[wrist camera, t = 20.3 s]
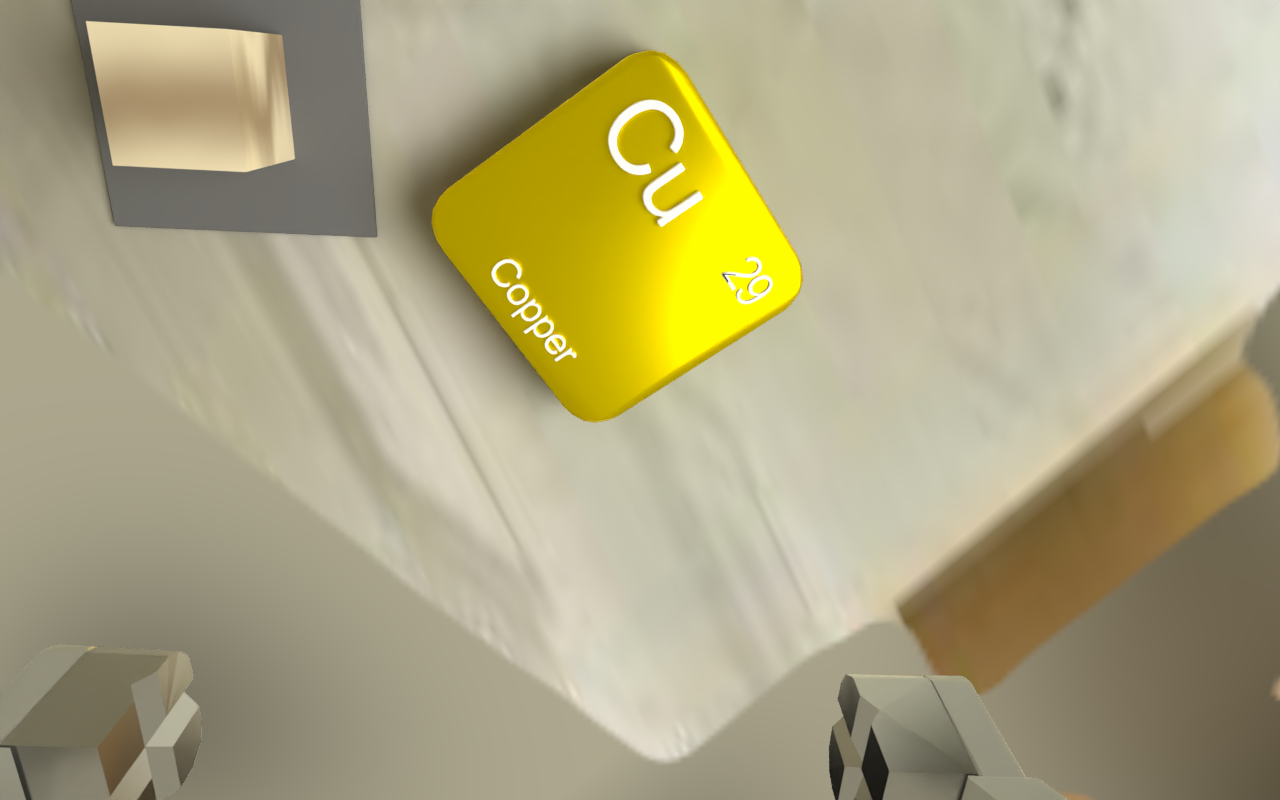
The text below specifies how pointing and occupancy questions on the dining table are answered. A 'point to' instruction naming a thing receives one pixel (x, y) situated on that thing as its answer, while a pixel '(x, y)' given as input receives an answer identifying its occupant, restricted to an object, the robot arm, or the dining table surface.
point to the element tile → (619, 239)
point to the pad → (320, 117)
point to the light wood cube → (192, 96)
